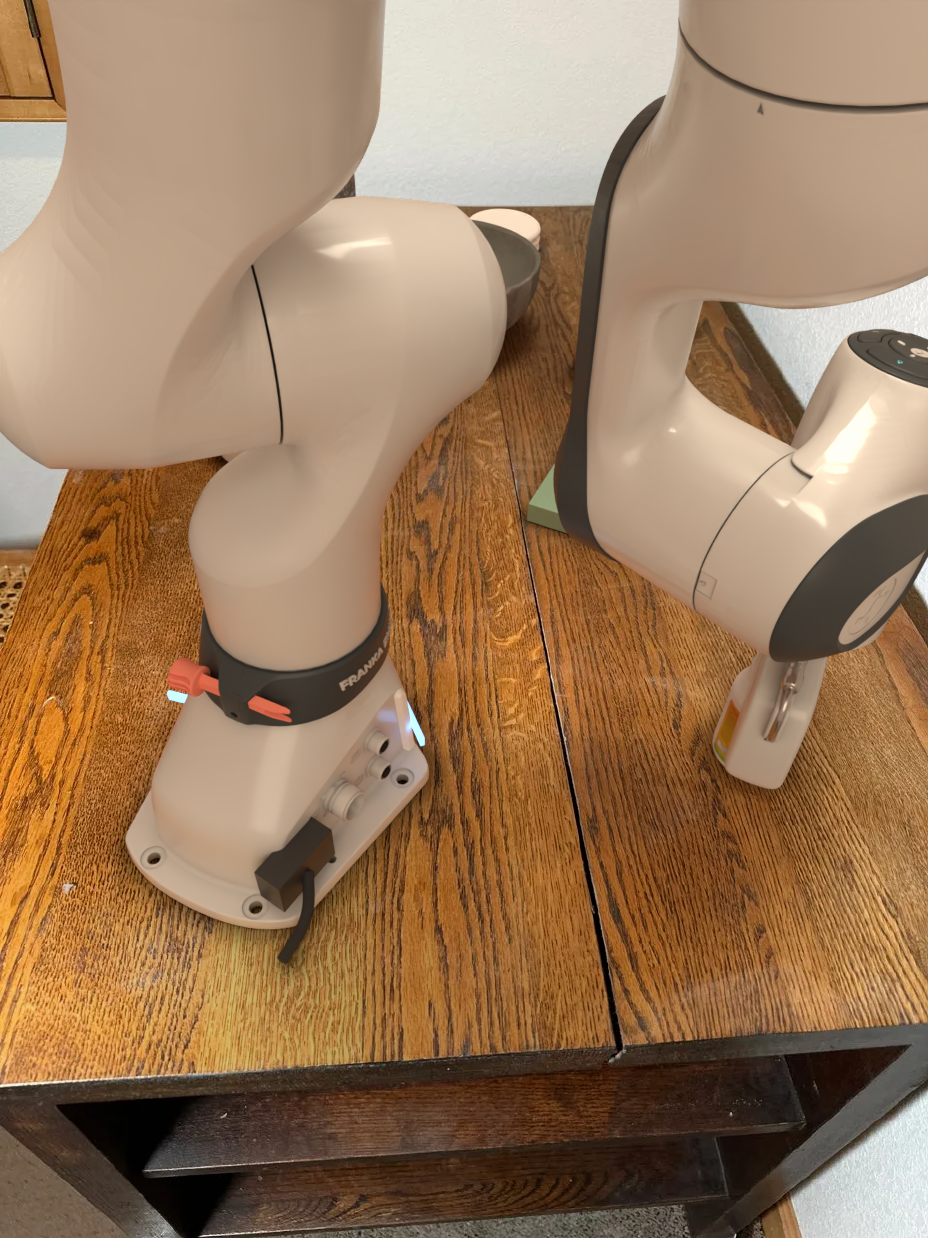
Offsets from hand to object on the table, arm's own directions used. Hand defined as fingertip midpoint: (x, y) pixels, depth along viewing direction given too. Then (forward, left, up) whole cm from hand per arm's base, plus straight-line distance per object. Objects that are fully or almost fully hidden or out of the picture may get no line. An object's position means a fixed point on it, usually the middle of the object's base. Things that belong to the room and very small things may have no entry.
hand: (762, 717), depth 67 cm
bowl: (+44, +46, -4) cm, 64 cm away
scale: (+24, +19, -4) cm, 31 cm away
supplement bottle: (0, 0, -4) cm, 4 cm away
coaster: (+67, +49, -4) cm, 83 cm away
